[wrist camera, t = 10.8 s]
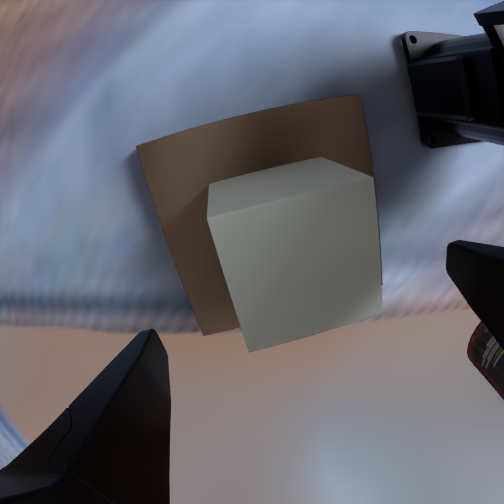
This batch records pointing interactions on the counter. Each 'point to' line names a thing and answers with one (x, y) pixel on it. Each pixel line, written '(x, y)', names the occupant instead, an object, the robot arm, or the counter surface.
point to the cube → (297, 249)
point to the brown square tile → (232, 165)
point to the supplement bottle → (487, 357)
